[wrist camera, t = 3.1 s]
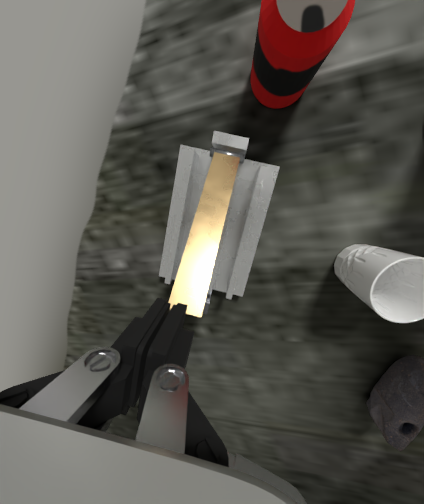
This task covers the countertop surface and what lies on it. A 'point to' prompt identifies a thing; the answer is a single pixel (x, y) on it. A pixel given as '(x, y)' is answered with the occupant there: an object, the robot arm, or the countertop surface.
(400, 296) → the white cup
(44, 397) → the robot arm
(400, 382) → the perforated stone tool
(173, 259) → the heatsink
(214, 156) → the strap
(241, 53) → the countertop surface
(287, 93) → the soda can
